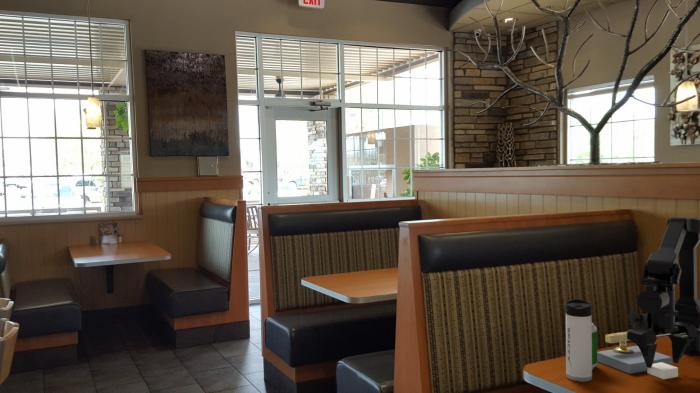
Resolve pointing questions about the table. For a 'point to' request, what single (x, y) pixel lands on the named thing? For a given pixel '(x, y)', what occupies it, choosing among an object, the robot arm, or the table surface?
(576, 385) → the table surface
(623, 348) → the brass door handle
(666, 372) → the white square block
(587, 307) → the travel mug
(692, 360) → the table surface
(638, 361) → the lock plate
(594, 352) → the soda can
